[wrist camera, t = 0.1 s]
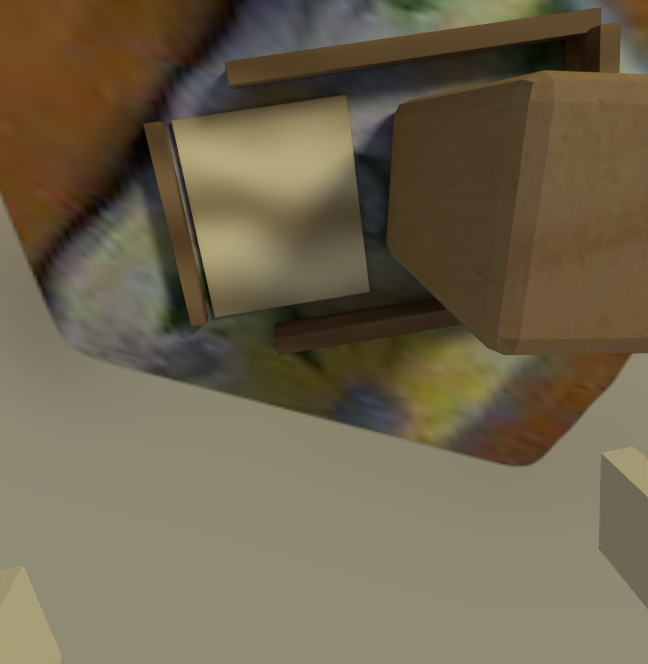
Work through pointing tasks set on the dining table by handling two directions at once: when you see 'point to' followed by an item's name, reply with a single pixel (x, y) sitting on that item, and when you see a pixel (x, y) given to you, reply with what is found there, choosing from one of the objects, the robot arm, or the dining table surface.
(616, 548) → the robot arm
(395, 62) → the bay
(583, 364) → the dining table surface
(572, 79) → the wooden block
